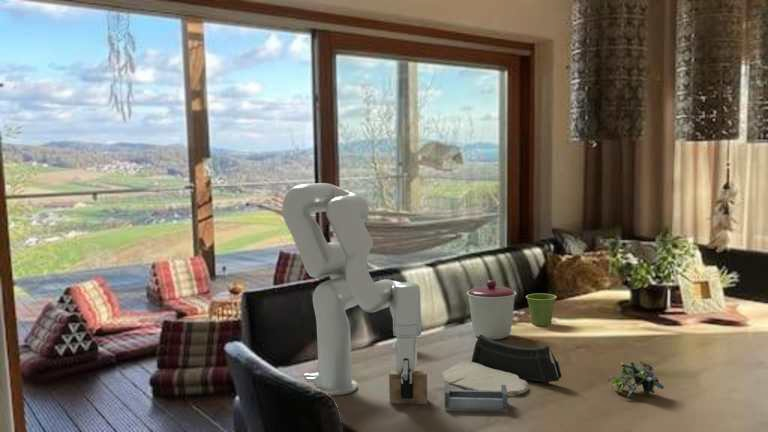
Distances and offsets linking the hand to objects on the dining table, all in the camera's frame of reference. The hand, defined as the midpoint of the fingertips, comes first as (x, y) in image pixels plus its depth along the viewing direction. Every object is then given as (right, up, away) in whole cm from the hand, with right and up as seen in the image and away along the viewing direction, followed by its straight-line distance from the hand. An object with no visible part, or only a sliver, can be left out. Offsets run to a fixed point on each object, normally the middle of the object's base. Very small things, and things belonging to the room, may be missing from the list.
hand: (408, 392), depth 178 cm
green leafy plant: (+62, -1, +1) cm, 62 cm away
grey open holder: (+18, -2, -5) cm, 18 cm away
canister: (+33, +3, +65) cm, 73 cm away
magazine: (+33, -1, +19) cm, 38 cm away
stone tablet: (+22, -2, +15) cm, 27 cm away
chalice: (-1, +1, +55) cm, 55 cm away
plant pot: (+56, +5, +82) cm, 99 cm away
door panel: (0, -3, 0) cm, 3 cm away
